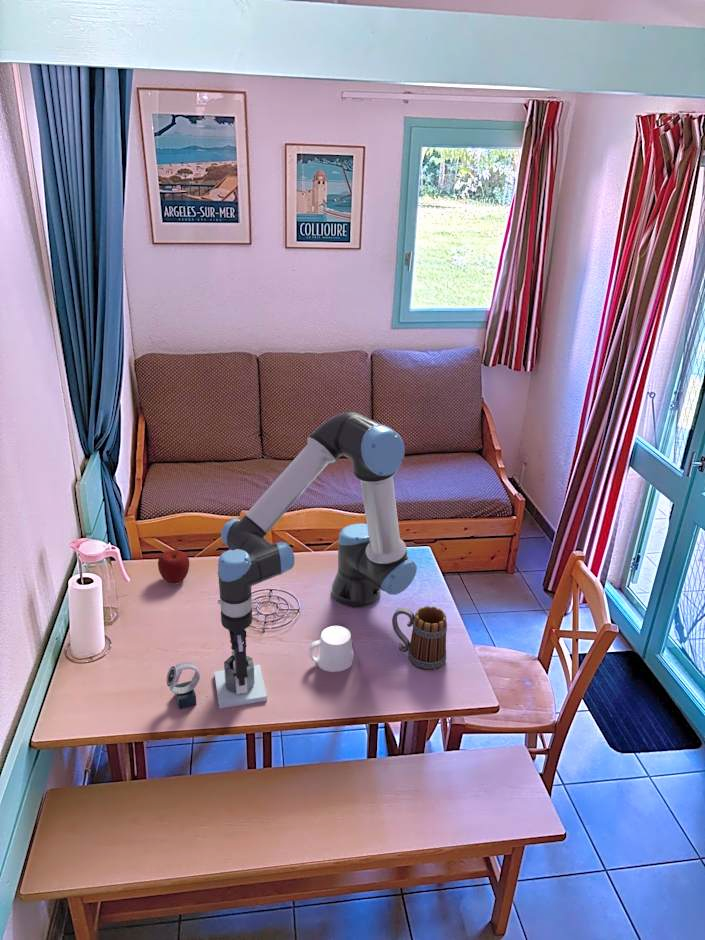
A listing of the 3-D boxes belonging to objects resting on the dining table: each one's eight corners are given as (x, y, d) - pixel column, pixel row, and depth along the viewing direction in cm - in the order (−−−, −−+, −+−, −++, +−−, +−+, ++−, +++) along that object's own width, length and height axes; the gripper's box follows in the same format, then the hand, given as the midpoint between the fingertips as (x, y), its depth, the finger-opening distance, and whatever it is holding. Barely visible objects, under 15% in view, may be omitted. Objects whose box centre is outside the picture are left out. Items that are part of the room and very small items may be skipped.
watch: (167, 696, 184) (163, 663, 179) (198, 688, 187) (195, 655, 182) (171, 711, 180) (167, 677, 175) (203, 703, 183) (200, 669, 178)
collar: (251, 670, 191) (251, 652, 188) (255, 689, 185) (255, 671, 182) (224, 674, 189) (222, 656, 186) (227, 694, 183) (225, 676, 180)
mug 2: (449, 651, 203) (454, 608, 196) (441, 676, 194) (445, 631, 187) (396, 638, 207) (399, 595, 201) (385, 661, 198) (388, 617, 192)
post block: (260, 668, 194) (259, 643, 191) (267, 700, 184) (266, 674, 180) (214, 675, 192) (212, 650, 188) (219, 708, 181) (217, 682, 177)
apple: (187, 589, 225) (184, 562, 220) (156, 588, 225) (153, 561, 220) (193, 572, 233) (191, 545, 229) (163, 571, 233) (161, 544, 229)
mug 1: (349, 623, 198) (356, 642, 191) (348, 650, 202) (355, 669, 195) (306, 629, 195) (312, 648, 188) (306, 656, 200) (311, 676, 193)
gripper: (216, 587, 184) (221, 657, 195) (225, 637, 167) (229, 712, 177) (246, 583, 186) (249, 653, 196) (257, 633, 169) (260, 707, 179)
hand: (239, 681), depth 187 cm, fingers closed on collar, 7 cm apart
